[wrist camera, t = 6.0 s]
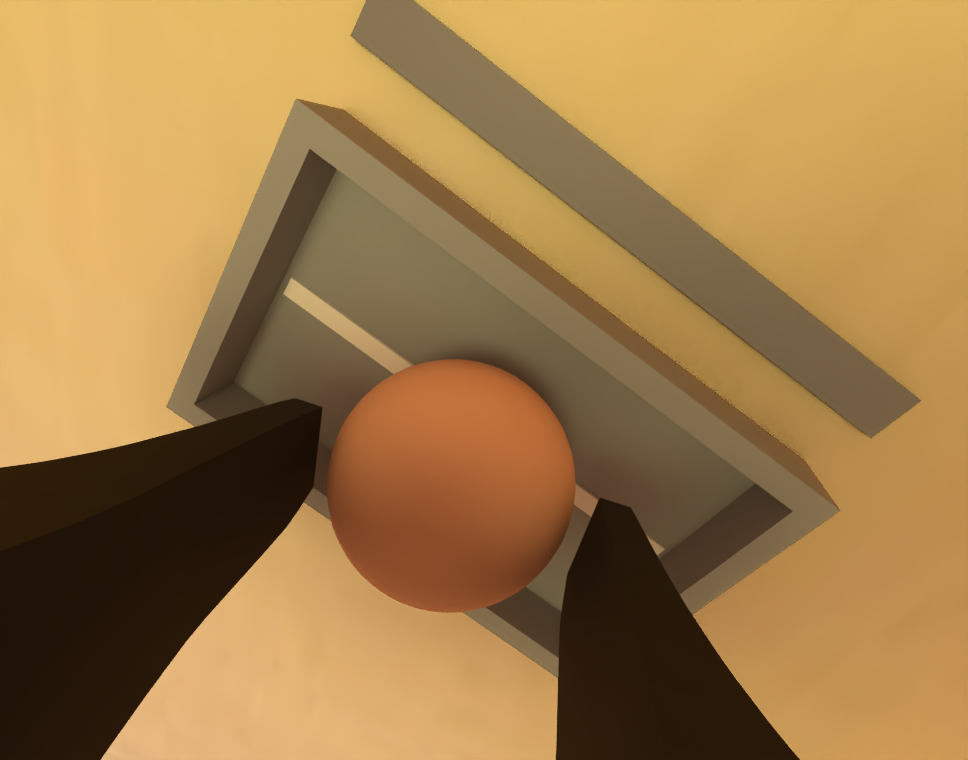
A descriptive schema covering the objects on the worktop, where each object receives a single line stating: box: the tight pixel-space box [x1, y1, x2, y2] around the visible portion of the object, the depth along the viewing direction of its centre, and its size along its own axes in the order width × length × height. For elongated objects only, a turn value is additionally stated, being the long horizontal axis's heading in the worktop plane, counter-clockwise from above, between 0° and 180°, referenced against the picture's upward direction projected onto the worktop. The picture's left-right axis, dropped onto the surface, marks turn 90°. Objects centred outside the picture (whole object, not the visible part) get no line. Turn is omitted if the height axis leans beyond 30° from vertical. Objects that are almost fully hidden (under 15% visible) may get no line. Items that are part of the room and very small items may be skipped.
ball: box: [327, 359, 576, 613], centre depth 10 cm, size 5×5×5 cm
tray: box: [167, 99, 840, 678], centre depth 12 cm, size 13×8×2 cm, turn 55°
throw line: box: [351, 0, 921, 438], centre depth 10 cm, size 14×1×1 cm, turn 55°
